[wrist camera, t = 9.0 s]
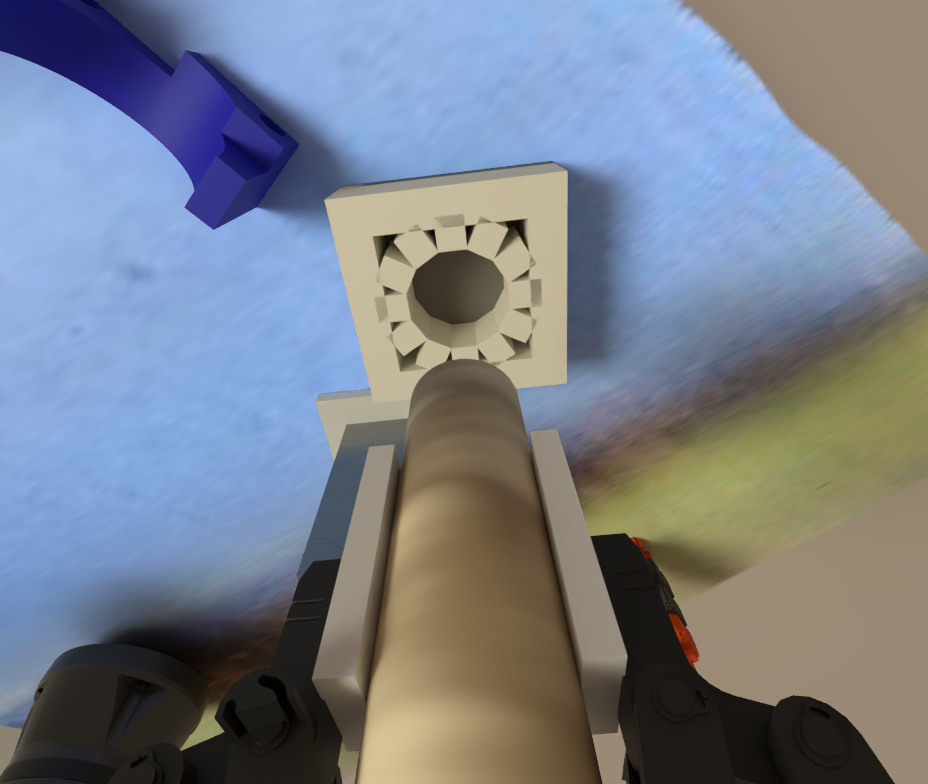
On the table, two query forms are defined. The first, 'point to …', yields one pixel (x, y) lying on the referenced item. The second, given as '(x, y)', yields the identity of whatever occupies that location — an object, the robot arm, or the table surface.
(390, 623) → the beech dowel
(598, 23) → the table surface
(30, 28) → the blue curved cradle
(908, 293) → the table surface
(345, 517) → the square bar
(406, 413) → the strip
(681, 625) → the toy animal
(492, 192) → the socket block
